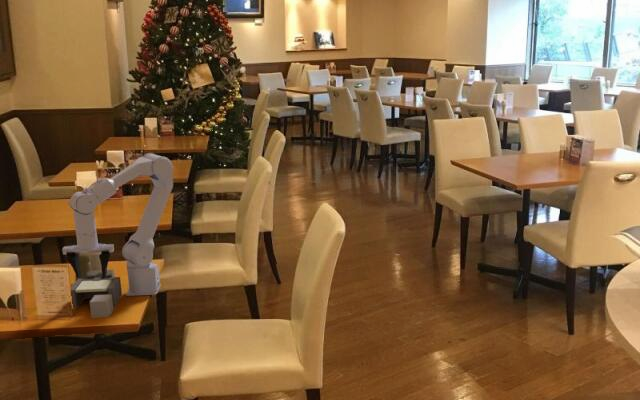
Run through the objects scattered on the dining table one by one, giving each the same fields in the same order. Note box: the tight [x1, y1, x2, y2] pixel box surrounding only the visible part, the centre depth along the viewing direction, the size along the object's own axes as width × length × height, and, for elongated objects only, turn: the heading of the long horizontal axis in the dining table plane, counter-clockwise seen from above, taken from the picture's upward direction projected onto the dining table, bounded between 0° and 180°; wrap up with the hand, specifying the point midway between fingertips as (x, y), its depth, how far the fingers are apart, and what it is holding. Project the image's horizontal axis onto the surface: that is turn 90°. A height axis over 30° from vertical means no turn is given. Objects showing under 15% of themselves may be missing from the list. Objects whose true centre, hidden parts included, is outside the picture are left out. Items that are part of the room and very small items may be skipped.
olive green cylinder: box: [74, 253, 91, 283], centre depth 214 cm, size 6×6×11 cm
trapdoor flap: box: [75, 269, 116, 292], centre depth 202 cm, size 9×12×4 cm
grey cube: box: [89, 294, 114, 319], centre depth 193 cm, size 5×5×5 cm
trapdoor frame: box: [70, 276, 123, 310], centre depth 201 cm, size 13×9×6 cm
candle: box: [89, 252, 109, 271], centre depth 221 cm, size 6×6×10 cm
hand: (91, 275), depth 197 cm, fingers open, 7 cm apart
